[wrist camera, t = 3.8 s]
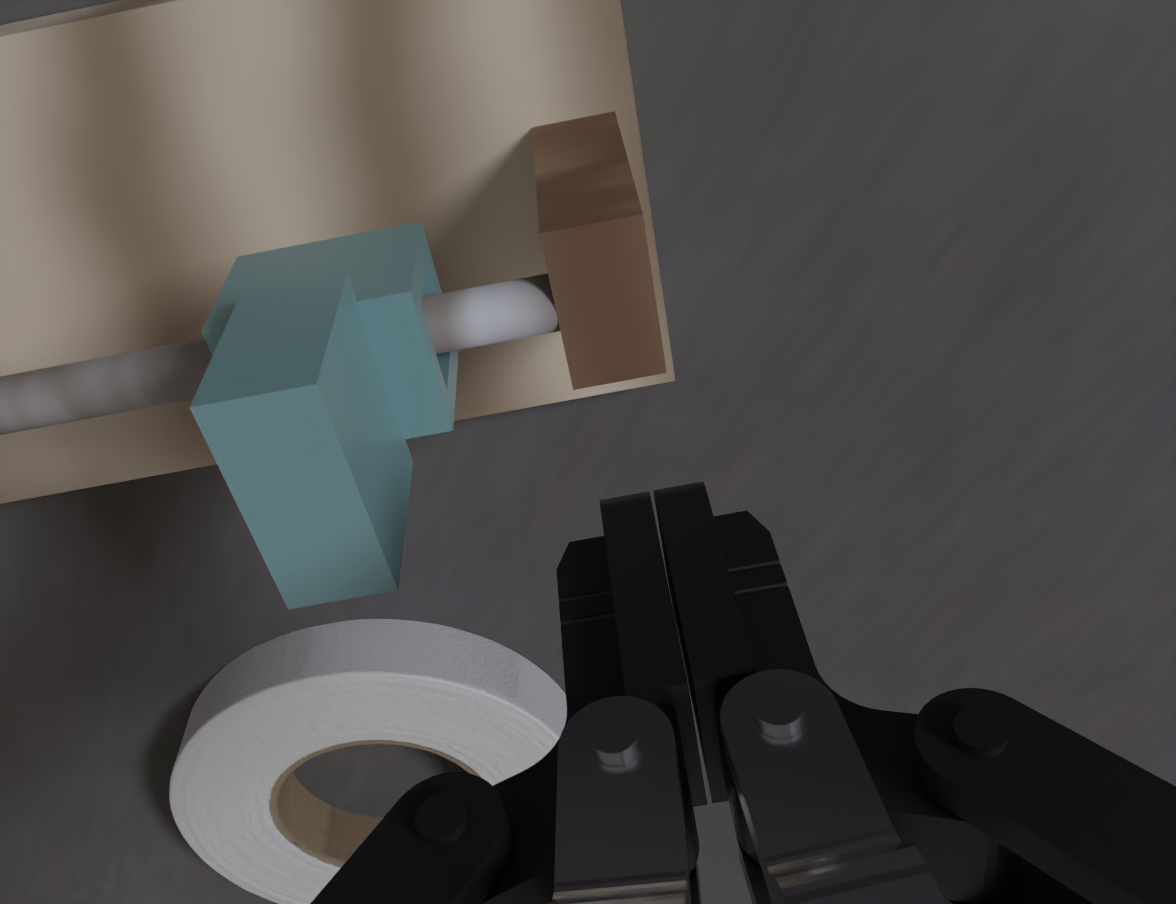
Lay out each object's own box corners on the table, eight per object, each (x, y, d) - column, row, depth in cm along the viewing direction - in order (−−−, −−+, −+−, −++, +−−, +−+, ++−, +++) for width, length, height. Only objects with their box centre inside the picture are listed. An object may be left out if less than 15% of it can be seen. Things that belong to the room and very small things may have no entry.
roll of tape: (274, 888, 45) (262, 951, 43) (116, 656, 36) (90, 720, 34) (617, 829, 45) (624, 891, 42) (542, 577, 35) (545, 637, 33)
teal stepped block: (413, 194, 21) (380, 371, 16) (465, 372, 24) (453, 580, 18) (226, 230, 21) (126, 419, 16) (297, 403, 24) (233, 619, 18)
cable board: (601, -99, 23) (645, -12, 16) (668, 353, 30) (719, 553, 23) (-400, 107, 24) (-775, 274, 17) (-109, 496, 31) (-289, 728, 24)
